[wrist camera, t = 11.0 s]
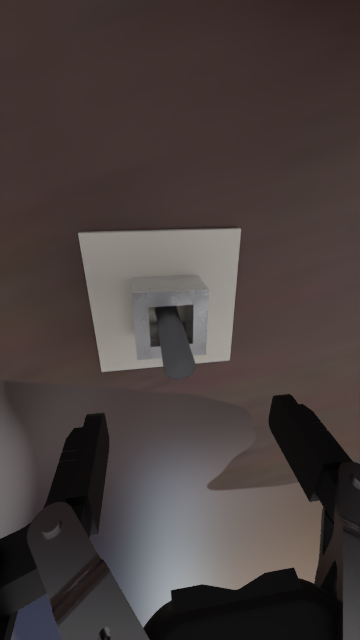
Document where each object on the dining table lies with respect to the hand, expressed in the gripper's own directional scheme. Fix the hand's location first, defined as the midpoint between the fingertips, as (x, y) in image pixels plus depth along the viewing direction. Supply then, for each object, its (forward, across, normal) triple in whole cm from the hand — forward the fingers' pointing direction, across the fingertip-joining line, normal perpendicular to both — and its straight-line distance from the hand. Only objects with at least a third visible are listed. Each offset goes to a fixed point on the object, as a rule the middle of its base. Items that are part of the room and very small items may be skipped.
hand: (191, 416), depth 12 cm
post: (+15, 0, 0) cm, 15 cm away
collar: (+14, 0, 0) cm, 14 cm away
